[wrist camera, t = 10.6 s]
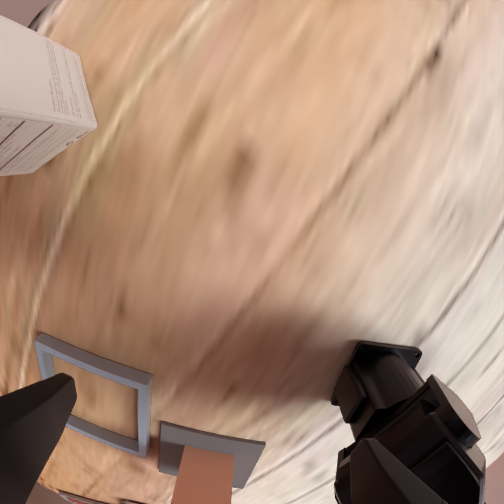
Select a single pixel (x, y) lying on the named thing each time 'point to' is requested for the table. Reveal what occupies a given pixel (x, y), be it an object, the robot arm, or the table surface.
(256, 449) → the place mat
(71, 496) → the adjustable wrench
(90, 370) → the blue-grey square frame
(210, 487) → the block
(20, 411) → the robot arm
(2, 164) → the supplement box
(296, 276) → the table surface
